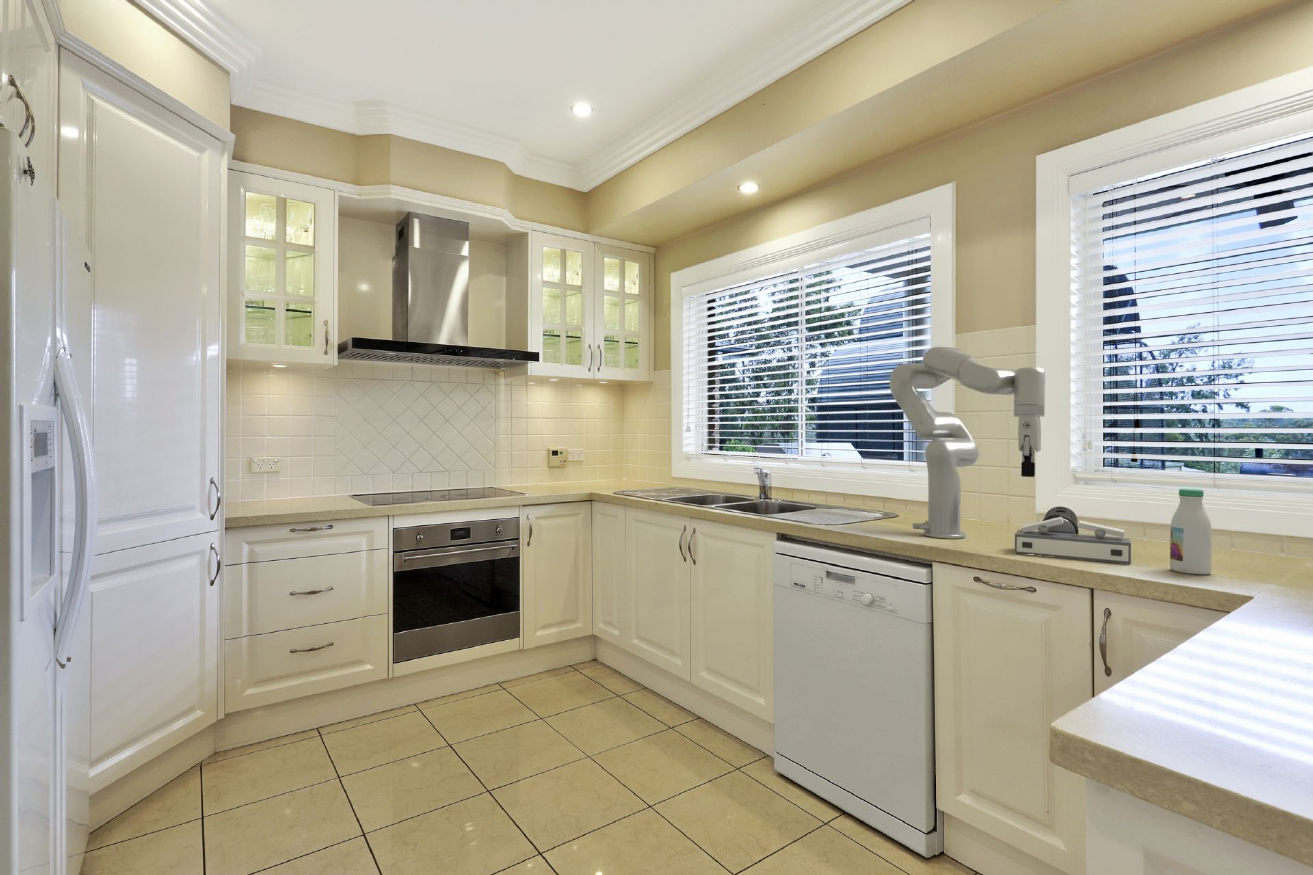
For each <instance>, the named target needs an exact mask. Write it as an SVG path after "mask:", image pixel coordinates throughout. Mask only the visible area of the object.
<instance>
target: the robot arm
mask: <svg viewBox="0 0 1313 875" xmlns="http://www.w3.org/2000/svg"><path fill="white" fill-rule="evenodd" d="M951 379H952V380H954V381H957V382H958V383H959V384H960V385H962V386H963V387H965V388H968V389H971V390H973V391H976V392H978V393H983V394H987V395H1003V396H1012V395H1013V417H1015V418H1017V417H1018V420H1017V421H1018V423H1017V424H1018V425H1017V428H1018V429H1017V437H1018V438H1017V440H1018V441H1017V442H1018V451H1019V452H1021V464H1020V465H1021V466H1020V467H1021V468H1020V470H1021V472H1020V475H1021V477H1023V478H1035V476H1036V474H1035V473H1036V462H1035V456H1036V454H1035V452H1036V453H1039V452H1040V451H1041V450H1042V445H1041V444H1042V443H1041V442H1042V441H1041V440H1042V436H1041V435H1042V433H1041V432H1042V431H1041V430H1042V429H1041V428H1042V427H1041V426H1042V425H1041V418H1043V417H1045V410H1046V409H1045V407H1046V406H1045V403H1046V402H1045V399H1046V397H1045V396H1046V395H1045V394H1046V371H1045V369H1043V368H1042V367H1039V366H1037V367H1036V366H1034V367H1033V366H1031V367H1030V366H1028V367H1019V368H1017V369H1016V368H997V367H988V366H984V365H980V364H978V362H977V359H976V358H975V357H974V356H973V355H970V354H966V352H965V351H964V350H962V349H961V348H958V347H951V346H934V347H931V348H929V349H928V350H926V351H925V353H924V354H923V357H922V363H913V362H912V363H911V362H910V363H909V362H908V363H903V364H902V363H901V364H899V365H897V366H896V367H894V369H892V371H891V373H890V377H889V390H890V393H891V395H892V397H893V399H894V400H895V402H896V403H897V404H898V406H899V408H901V410H902V411H903V413H904V415H905V417H906V418H907V420H908V422H909V423H910V425H911V427H912V428H913V430H914V432H915V433H916V435H917V436H918V437H919V438H920V439H921V440H925V441H930V442H928V444H927V445H926V447H925V450H924V458H925V462H926V467H927V480H928V482H927V484H928V485H927V487H928V488H927V489H928V490H927V491H928V496H927V498H928V499H927V500H928V501H927V502H928V507H927V509H928V511H927V513H928V514H927V515H928V518H927V519H928V520H927V519H926V520H925V521H923V522H922V523H919V522H913V523H912V529H913V530H922V534H923V535H924V536H926V537H931V538H937V539H949V540H950V539H952V540H954V539H964V538H965V537H967V536H966V535H967V534H966V532H964V531H961V477H960V475H959V472H958V470H957V468H961V467H962V468H964V467H969V466H972V465H974V464H975V463H976V462H977V460H978V459H979V453H980V452H979V448H978V445H977V443H976V441H975V439H974V438H973V436H972V434H970V432H969V430H968V429H967V428H966V426H965V424H964V422H963V421H962V420H961V419H960V417H958V416H957V415H956V414H954V413H952V412H947V411H938V410H935V409H934V408H933V406H932V405H931V403H930V401H929V399H927V396H925V395H924V394H922V393H921V392H920V391H919V389H923V390H930V389H934V388H937V387H939V386H941V385H943V384H944V383H946V382H948V381H949V380H951Z"/></svg>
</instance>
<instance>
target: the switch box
mask: <svg viewBox="0 0 1313 875" xmlns="http://www.w3.org/2000/svg"><path fill="white" fill-rule="evenodd" d="M1015 553H1019V554H1018V555H1023V554H1034V555H1041V556H1040V557H1044V556H1054V557H1053V558H1055V557H1059V558H1058V559H1065V558H1066V559H1067V560H1068V559H1069V560H1076V559H1081V560H1080V561H1087V560H1089V561H1090V562H1097V561H1102V562H1101V563H1108V562H1109V563H1110V564H1119V563H1123V564H1122V565H1129V564H1131V565H1132V561H1131V560H1132V542H1131V538H1130V537H1118V536H1106V535H1105V536H1104V537H1103V538H1098V537H1096V536H1095V534H1094V535H1093V534H1092V535H1091V534H1079V533H1078V534H1069V533H1055V532H1046V533H1040V532H1039V531H1038V530H1034V531H1029V532H1025V533H1023V532H1022V529H1017V531H1015V533H1014V554H1015Z"/></svg>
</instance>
